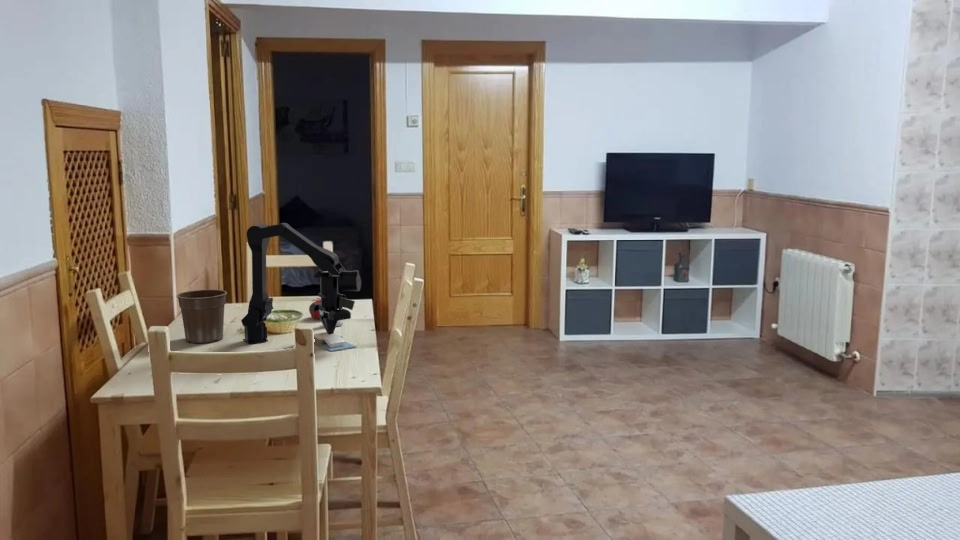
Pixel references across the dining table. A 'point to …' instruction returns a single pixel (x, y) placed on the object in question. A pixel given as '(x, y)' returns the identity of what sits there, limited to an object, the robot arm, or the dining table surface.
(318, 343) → the deck
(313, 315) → the pomegranate
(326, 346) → the mat
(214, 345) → the dining table surface
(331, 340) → the white flat block
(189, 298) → the plant pot
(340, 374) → the dining table surface
